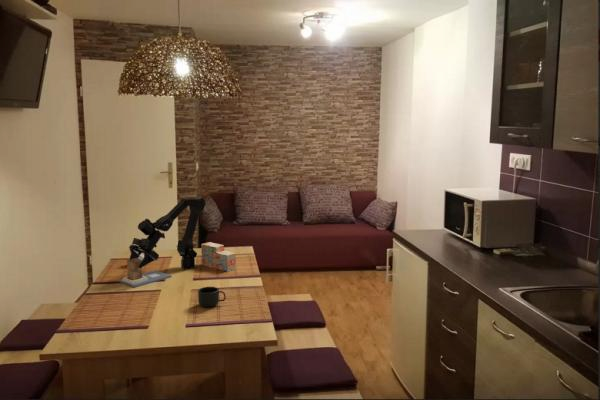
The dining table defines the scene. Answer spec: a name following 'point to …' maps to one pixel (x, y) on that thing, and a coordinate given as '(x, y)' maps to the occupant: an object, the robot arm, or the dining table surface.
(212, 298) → the mug
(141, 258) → the die
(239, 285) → the dining table surface
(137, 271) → the pillar
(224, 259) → the stack of blocks
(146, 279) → the board
